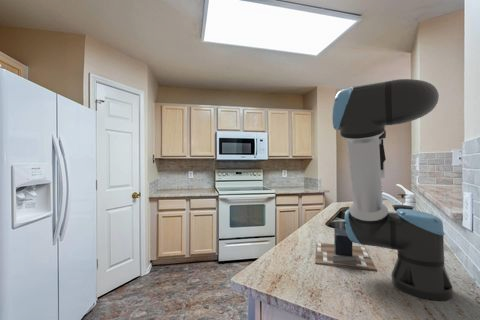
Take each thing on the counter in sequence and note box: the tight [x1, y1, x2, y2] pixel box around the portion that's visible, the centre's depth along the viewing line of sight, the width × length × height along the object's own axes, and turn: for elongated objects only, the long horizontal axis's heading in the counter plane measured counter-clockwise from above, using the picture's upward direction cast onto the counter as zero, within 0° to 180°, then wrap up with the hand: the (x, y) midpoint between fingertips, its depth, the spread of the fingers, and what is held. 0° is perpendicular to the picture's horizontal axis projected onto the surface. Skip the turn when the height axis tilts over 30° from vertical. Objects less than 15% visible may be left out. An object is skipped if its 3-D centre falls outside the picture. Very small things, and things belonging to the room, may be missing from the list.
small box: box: [333, 227, 353, 256], centre depth 96 cm, size 11×6×10 cm, turn 161°
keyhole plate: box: [314, 242, 377, 272], centre depth 100 cm, size 24×21×4 cm
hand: (376, 177), depth 106 cm, fingers open, 13 cm apart
